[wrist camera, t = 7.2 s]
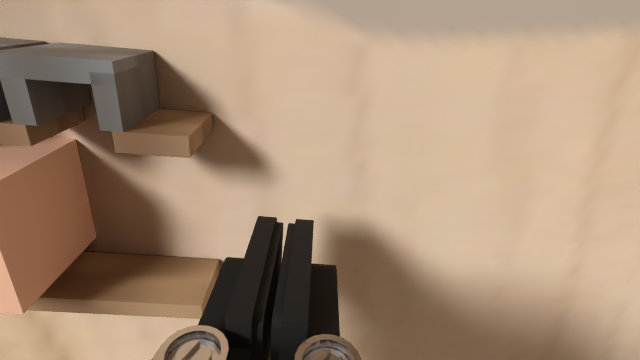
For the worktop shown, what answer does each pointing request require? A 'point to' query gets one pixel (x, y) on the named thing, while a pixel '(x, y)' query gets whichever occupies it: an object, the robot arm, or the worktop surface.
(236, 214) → the worktop surface
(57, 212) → the block
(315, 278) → the robot arm
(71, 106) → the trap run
